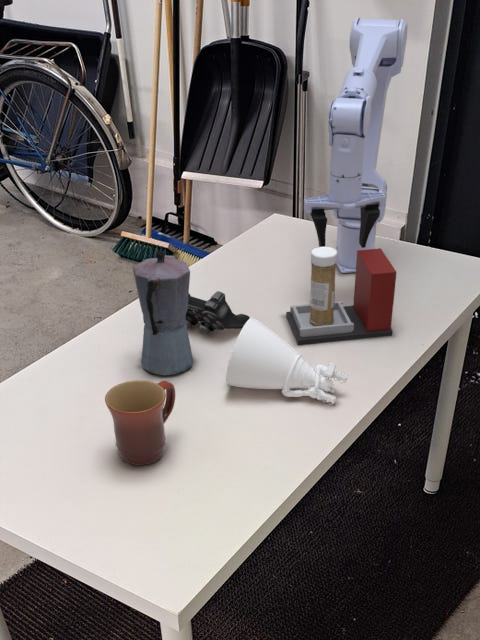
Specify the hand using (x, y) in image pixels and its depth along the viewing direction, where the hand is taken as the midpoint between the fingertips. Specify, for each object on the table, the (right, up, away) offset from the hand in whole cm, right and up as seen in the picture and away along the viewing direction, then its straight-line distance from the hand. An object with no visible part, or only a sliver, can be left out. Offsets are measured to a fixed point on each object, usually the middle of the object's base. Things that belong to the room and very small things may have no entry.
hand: (342, 247), depth 159 cm
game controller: (-26, -15, 0) cm, 30 cm away
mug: (-33, -41, -28) cm, 59 cm away
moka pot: (-32, -24, -10) cm, 41 cm away
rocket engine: (-12, -30, -18) cm, 37 cm away
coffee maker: (-1, -15, -1) cm, 15 cm away
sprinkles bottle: (-4, -15, -2) cm, 15 cm away
